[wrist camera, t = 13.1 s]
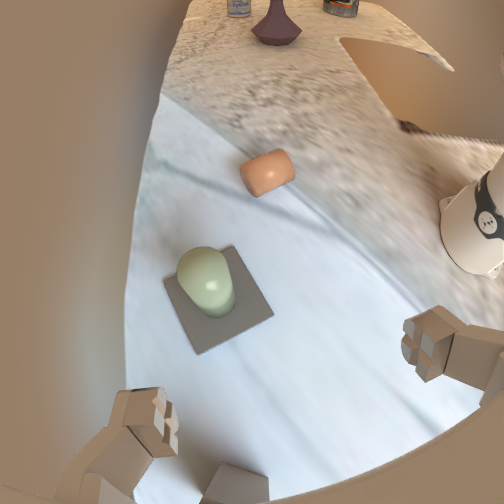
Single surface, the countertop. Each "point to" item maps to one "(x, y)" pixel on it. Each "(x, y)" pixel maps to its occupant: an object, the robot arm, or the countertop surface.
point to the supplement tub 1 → (239, 8)
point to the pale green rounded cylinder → (207, 281)
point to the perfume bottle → (236, 487)
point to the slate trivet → (223, 329)
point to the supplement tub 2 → (341, 7)
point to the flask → (276, 26)
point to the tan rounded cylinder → (267, 172)
